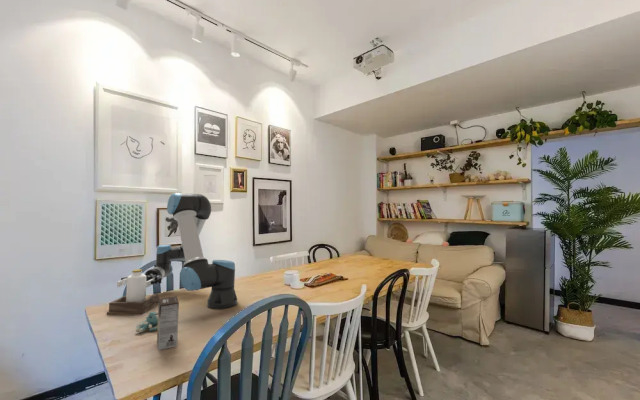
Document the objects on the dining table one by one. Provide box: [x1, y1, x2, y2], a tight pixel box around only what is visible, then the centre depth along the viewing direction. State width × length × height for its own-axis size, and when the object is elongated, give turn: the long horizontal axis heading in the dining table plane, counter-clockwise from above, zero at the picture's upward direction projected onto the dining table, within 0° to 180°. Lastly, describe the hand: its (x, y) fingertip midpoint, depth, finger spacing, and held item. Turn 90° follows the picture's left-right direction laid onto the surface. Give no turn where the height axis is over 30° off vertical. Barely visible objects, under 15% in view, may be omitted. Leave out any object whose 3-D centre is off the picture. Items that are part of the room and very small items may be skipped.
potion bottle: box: [125, 268, 147, 302], centre depth 143 cm, size 8×8×18 cm
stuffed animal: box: [135, 311, 158, 333], centre depth 119 cm, size 11×7×12 cm
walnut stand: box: [106, 293, 159, 315], centre depth 142 cm, size 16×16×5 cm
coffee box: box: [156, 295, 180, 351], centre depth 106 cm, size 9×6×16 cm
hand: (132, 284), depth 140 cm, fingers open, 13 cm apart
